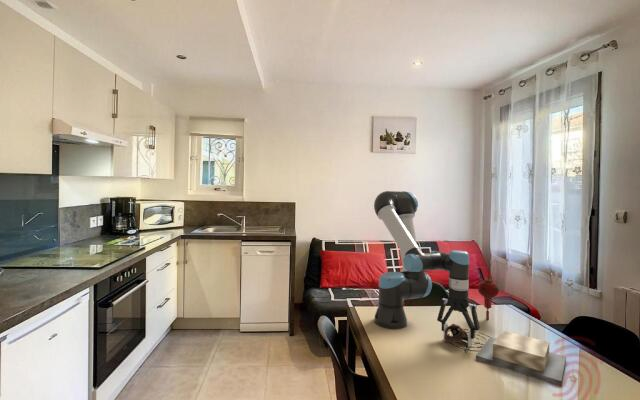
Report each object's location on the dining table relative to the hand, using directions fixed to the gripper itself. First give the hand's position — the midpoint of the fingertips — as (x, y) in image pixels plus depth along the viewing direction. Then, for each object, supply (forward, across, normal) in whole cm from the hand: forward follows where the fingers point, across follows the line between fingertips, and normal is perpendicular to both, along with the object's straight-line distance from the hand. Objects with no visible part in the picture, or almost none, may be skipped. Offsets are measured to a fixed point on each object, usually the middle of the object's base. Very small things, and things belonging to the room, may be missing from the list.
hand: (457, 342), depth 139 cm
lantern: (0, +3, +38) cm, 38 cm away
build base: (0, +23, +1) cm, 23 cm away
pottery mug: (0, -1, 0) cm, 1 cm away
